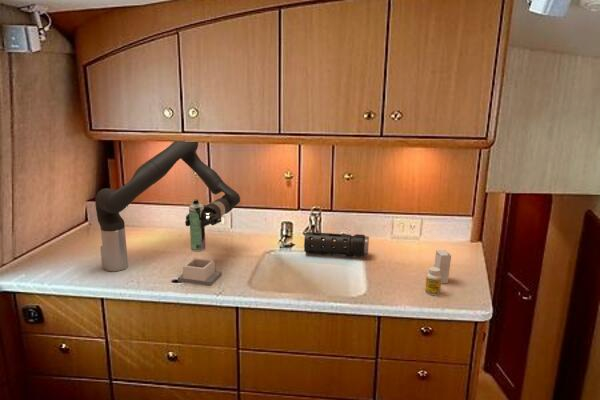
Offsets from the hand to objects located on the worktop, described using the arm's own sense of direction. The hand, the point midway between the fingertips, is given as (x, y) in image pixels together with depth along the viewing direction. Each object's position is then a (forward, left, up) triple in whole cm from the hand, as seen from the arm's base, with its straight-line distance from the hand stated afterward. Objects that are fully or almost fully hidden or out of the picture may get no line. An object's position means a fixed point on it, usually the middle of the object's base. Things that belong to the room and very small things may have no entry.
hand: (194, 224), depth 186 cm
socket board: (0, +3, -23) cm, 23 cm away
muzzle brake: (+47, +43, -24) cm, 68 cm away
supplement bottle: (+89, +16, -23) cm, 93 cm away
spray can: (0, +3, -11) cm, 11 cm away
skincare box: (+92, +28, -23) cm, 99 cm away
